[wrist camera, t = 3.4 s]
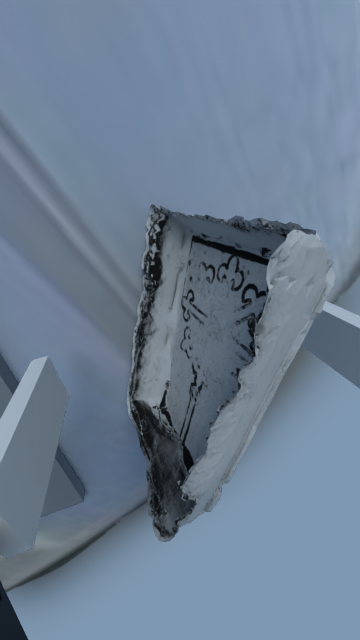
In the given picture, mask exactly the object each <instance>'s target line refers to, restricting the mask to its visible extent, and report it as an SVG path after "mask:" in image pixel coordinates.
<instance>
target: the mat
mask: <svg viewBox="0 0 360 640" xmlns="http://www.w3.org/2000/svg"><path fill="white" fill-rule="evenodd" d="M18 385H19V384H18V382H17V381H16V379H15V378H14V376H13V374H12V373H11V371H10V370H9V368H8V367H7V365H6V363H5V362H4V360H3V359H2V357H1V355H0V419H1V417H2V415H3V413H4V411H5V409H6V407H7V406H8V404H9V402H10V400H11V398H12V396H13V394H14V393H15V391H16V389H17V387H18ZM84 493H85V488H84V487H83V485H82V484H81V482H80V480H79V479H78V477H77V476H76V474H75V473H74V471H73V469H72V468H71V466H70V465H69V463H68V461H67V460H66V458H65V457H64V455H63V454H62V452H61V450H60V449H59V447H58V446H57V450H56V455H55V459H54V463H53V467H52V471H51V475H50V480H49V484H48V488H47V492H46V496H45V501H44V505H43V509H42V513H41V517H42V516H45V515H48V514H51V513H53V512H56V511H59V510H62V509H64V508H67V507H70V506H73V505H75V504H78V503H81V502H83V501H84Z"/></svg>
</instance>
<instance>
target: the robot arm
mask: <svg viewBox="0 0 360 640" xmlns="http://www.w3.org/2000/svg"><path fill="white" fill-rule="evenodd" d="M301 346H303V347H304V348H306V349H307V350H308V351H310V352H311V353H312V354H314V355H315V356H316V357H318V358H319V359H320V360H322V361H323V362H325V363H326V364H327V365H329V366H330V367H331V368H333V369H334V370H335V371H337V372H338V373H340V374H341V375H342V376H343V377H345V378H346V379H348V380H349V381H350V382H352V383H353V384H354V385H356V386H357V387H358V388H360V316H358V315H356V314H354V313H351V312H349V311H347V310H345V309H342V308H340V307H338V306H336V305H333V304H331V303H329V302H327V301H325V304H324V306H323V309H322V312H321V313H320V314H319V316H318V317H317V318H316V319H315V320H314V321H313V323H312V325H311V327H310V329H309V331H308V333H307V335H306V336H305V338H304V340H303V342H302V344H301ZM68 400H69V395H68V393H67V391H66V389H65V387H64V385H63V383H62V381H61V379H60V378H59V376H58V374H57V372H56V370H55V368H54V366H53V364H52V362H51V360H50V358H49V356H45V357H42V358H38V359H34V360H32V361H31V363H30V365H29V367H28V369H27V370H26V372H25V374H24V376H23V378H22V380H21V382H20V383H19V385H18V387H17V389H16V391H15V393H14V394H13V396H12V398H11V400H10V402H9V404H8V406H7V407H6V409H5V411H4V413H3V415H2V417H1V419H0V554H1V555H2V556H4V557H5V558H6V559H7V558H9V557H12V556H15V555H18V554H20V553H23V552H26V551H28V550H31V549H33V547H34V543H35V538H36V534H37V530H38V526H39V522H40V517H41V513H42V509H43V505H44V501H45V496H46V492H47V488H48V484H49V480H50V475H51V471H52V467H53V463H54V459H55V455H56V450H57V446H58V442H59V438H60V434H61V429H62V425H63V421H64V417H65V413H66V408H67V404H68ZM0 640H28V638H27V636H26V634H25V632H24V630H23V628H22V626H21V624H20V622H19V620H18V617H17V615H16V613H15V611H14V609H13V607H12V605H11V602H10V600H9V598H8V596H7V594H6V592H5V590H4V588H3V586H2V583H1V581H0Z"/></svg>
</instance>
